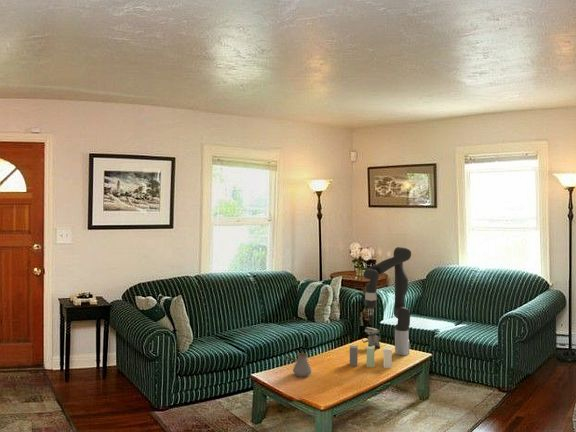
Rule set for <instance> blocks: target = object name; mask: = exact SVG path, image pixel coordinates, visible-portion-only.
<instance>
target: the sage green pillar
mask: <svg viewBox="0 0 576 432" xmlns="http://www.w3.org/2000/svg"><path fill="white" fill-rule="evenodd" d="M375 348H376V347H375V346H372V347H371V346H368V345H367V346H366V367H367V368H375Z"/></svg>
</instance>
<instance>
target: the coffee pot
mask: <svg viewBox="0 0 576 432" xmlns="http://www.w3.org/2000/svg"><path fill="white" fill-rule="evenodd" d="M296 355H297V359H296V358H293V357H290V356H286V357H285V359H286V361H288V360H291V361H296V362H295V364H294V367H293V369H292V372H293V374H294V375H295V376H296V377H298V378H299V377H300V378H306V377H308V376H309V375H310V374H311V373H312V368H311V366H310V363H309V361H308V359H307V356H308V353H305V352H301V353H300V352H299V353H296Z"/></svg>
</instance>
